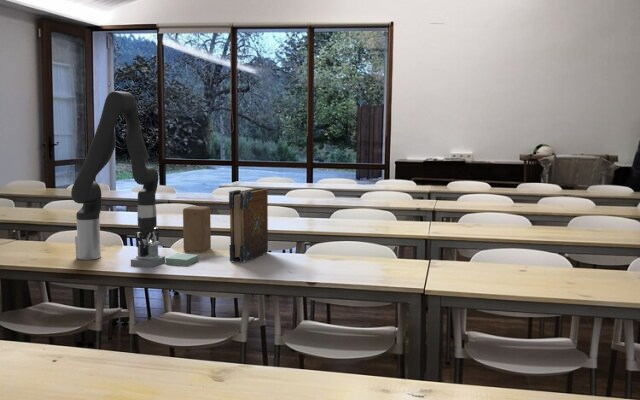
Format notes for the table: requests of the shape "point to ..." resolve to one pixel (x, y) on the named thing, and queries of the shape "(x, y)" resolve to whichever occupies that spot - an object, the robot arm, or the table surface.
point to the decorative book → (248, 223)
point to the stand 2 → (182, 259)
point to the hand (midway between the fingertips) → (148, 254)
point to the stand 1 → (147, 262)
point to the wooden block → (196, 228)
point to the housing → (150, 250)
